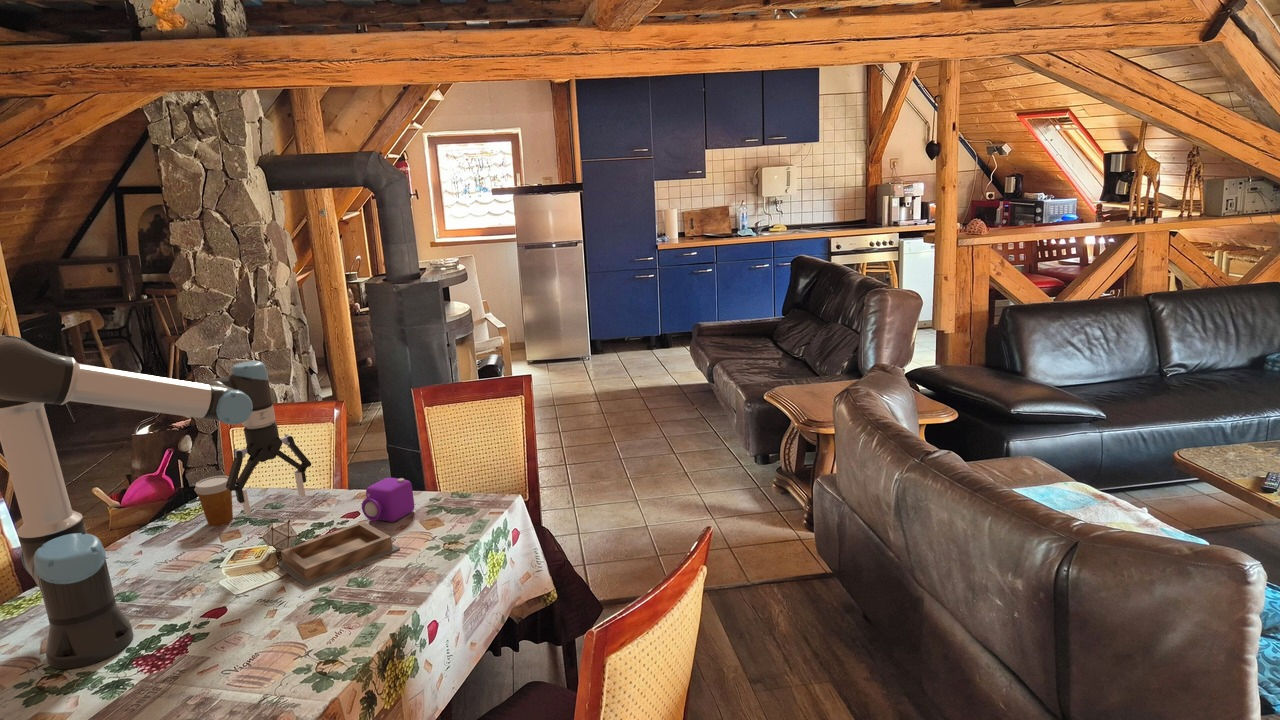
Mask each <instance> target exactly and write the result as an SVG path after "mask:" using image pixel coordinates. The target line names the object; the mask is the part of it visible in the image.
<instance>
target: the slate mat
mask: <svg viewBox="0 0 1280 720" xmlns="http://www.w3.org/2000/svg"><path fill="white" fill-rule="evenodd" d="M392 547H393V548H392V549H389V550H387V551H384V552H382V553H379V554H377V555H374V556H371V557H369V558H366V559H364V560H361V561H359V562H356V563H354V564H351V565H348V566H346V567H343V568H341V569H338V570H336V571H333V572H331V573H328V574H325V575H323V576H320V577H318V578H315V579H313V580H310V581H307V580H306V579H304V578H303V577H302V576H300V575H299V574H298V573H296V572H295V571H294V570H292V569H291V568H290V567H288V566H287V565H286V564H284V563H283V560H282V559H280V560H278V561H277V562H278V565H279V566H278V565H277V566H278V567H279V568H280V569H282V570H283V571H284V572H286V573H287V575H288V574H289V575H290V576H291V577H292V578H294V579H295V580H296V581H298V583H300V584H302V586H303V587H309V586H312V585H314V584H317V583H320V582H322V581H324V580H325V581H326V580H327V579H329V578H332V577H335V576H337V575H340V574H342V573H345V572H347V571H349V570H352V569H354V568H357V567H360V566H363V565H365V564H368V563H370V562H372V561H375V560H377V559H380V558H382V557H385V556H388V555H390V554H392V553H395V552H397V551H400V550H401V548H400V547H398V546H397V545H395V544H393V543H392Z"/></svg>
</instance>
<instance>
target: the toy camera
mask: <svg viewBox="0 0 1280 720" xmlns="http://www.w3.org/2000/svg"><path fill="white" fill-rule="evenodd" d="M365 490H366V491H365V494H366V498H365V499H363V501H362V503H361V511H362V512H363V513H362V514H363V515H364V517H365V518H366V519H368V520H369V521H371V522H375V521H383V522H392V523H393V522H397V521H398V520H399V519H402V518H403V517H405V516H407V515H409V514H411V513H412V512H414V510H415V507H416V506H415V500H414V499H415V498H414V493H413V485H412V483H411V481H410V480H408V479H405V478H403V477H400V478H398V477H397V478H396V477H385V478H383V479H381V480H380V481H377V482H375V483H373V484H371V485H369V486H368V487H367V488H366V489H365Z"/></svg>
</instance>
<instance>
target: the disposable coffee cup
mask: <svg viewBox="0 0 1280 720" xmlns="http://www.w3.org/2000/svg"><path fill="white" fill-rule="evenodd" d="M228 477H229V475H215V476H210V477H207V478H203V479H201V480H199V481H198V482H196V483H195V488H194V492H195V493H196V494H197V496H198V500H199V502H200V504H201V505H200V506H201V508H202V511H203V513H204V516H205V518H206V523H207V525H208V526H211V527H218V526H219V527H220V526H223V525H226V524H227V525H228V524H229V523H230V522H232V521H233V520H234V515H233V512H234V511H233V496H232V495H233V494H232V493H233V491H230V490H228V489H227V488H226V484H227V480H228Z"/></svg>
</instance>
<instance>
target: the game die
mask: <svg viewBox="0 0 1280 720" xmlns="http://www.w3.org/2000/svg"><path fill="white" fill-rule="evenodd" d="M270 523H271V524H270V525H269V527H267V530H266V531H265V533H264V534H263V535H262V536H259V537H258V539H260V540H263V542H264V543H265V545H266V546H267V547H268V546H273V547H274V548H275V549H276V551H275V552H281V550H284V549H287V548H290V547H292V545H293V544H294V542H295V540H296V539H297V538H300V537H301V536H302V535H301V534H297V532H296V531H295V530H294V528H293V526H292V525H291V524H290V523H291V519H288V520H287V522H274V521H273V520H272V519H270Z"/></svg>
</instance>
